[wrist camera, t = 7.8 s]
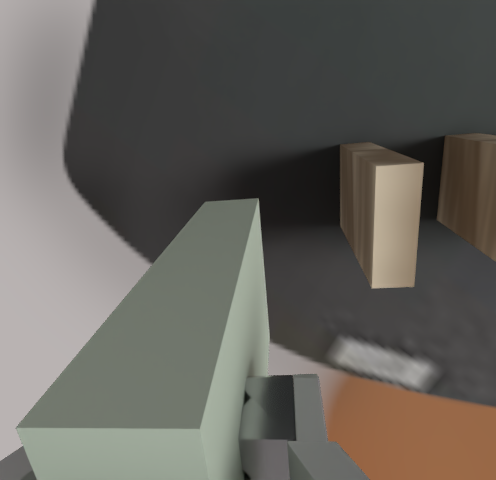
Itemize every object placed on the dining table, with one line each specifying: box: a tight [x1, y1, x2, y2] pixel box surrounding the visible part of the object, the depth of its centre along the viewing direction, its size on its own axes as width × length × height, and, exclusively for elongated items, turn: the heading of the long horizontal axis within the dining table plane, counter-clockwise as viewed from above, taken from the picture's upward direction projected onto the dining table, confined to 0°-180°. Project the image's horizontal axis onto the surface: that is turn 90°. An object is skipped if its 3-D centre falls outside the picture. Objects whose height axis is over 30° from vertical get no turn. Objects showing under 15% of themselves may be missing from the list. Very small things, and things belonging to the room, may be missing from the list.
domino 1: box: [340, 142, 424, 288], centre depth 21 cm, size 2×6×10 cm, turn 6°
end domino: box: [16, 198, 270, 480], centre depth 9 cm, size 2×6×10 cm, turn 5°
